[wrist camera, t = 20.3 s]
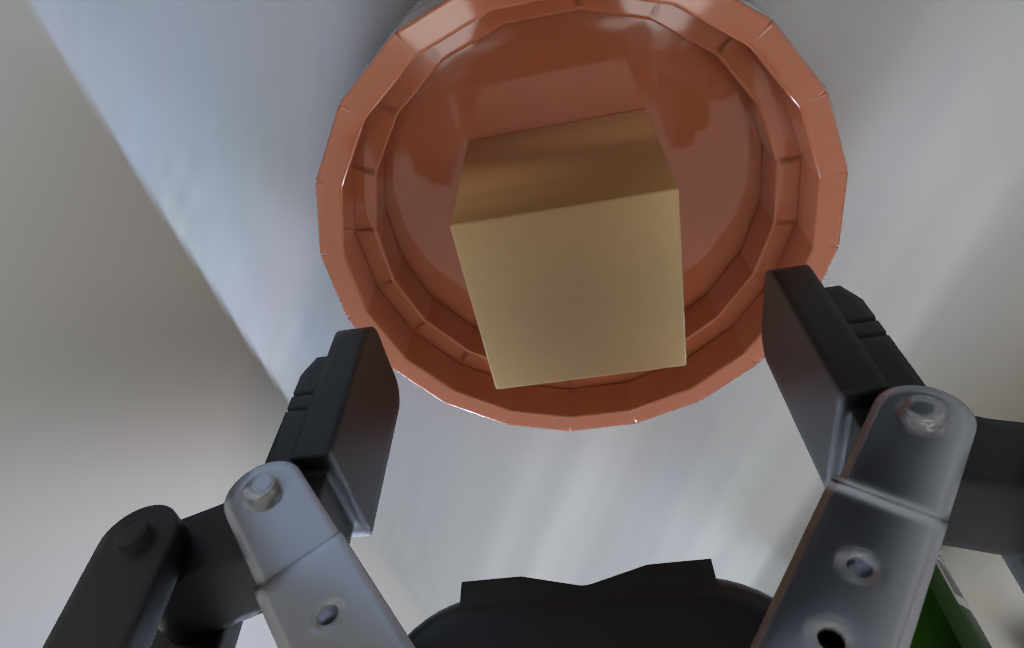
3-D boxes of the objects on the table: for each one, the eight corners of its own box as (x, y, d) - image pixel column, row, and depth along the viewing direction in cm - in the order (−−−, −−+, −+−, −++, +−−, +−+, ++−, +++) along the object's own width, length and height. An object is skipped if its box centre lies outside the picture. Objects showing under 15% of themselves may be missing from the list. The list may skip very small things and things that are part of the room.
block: (502, 285, 19) (495, 390, 16) (467, 140, 17) (449, 225, 13) (657, 262, 19) (687, 366, 15) (645, 107, 16) (678, 188, 12)
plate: (417, 385, 22) (403, 451, 20) (273, 1, 15) (224, 33, 13) (787, 336, 21) (820, 403, 18) (821, -119, 14) (883, -109, 11)
